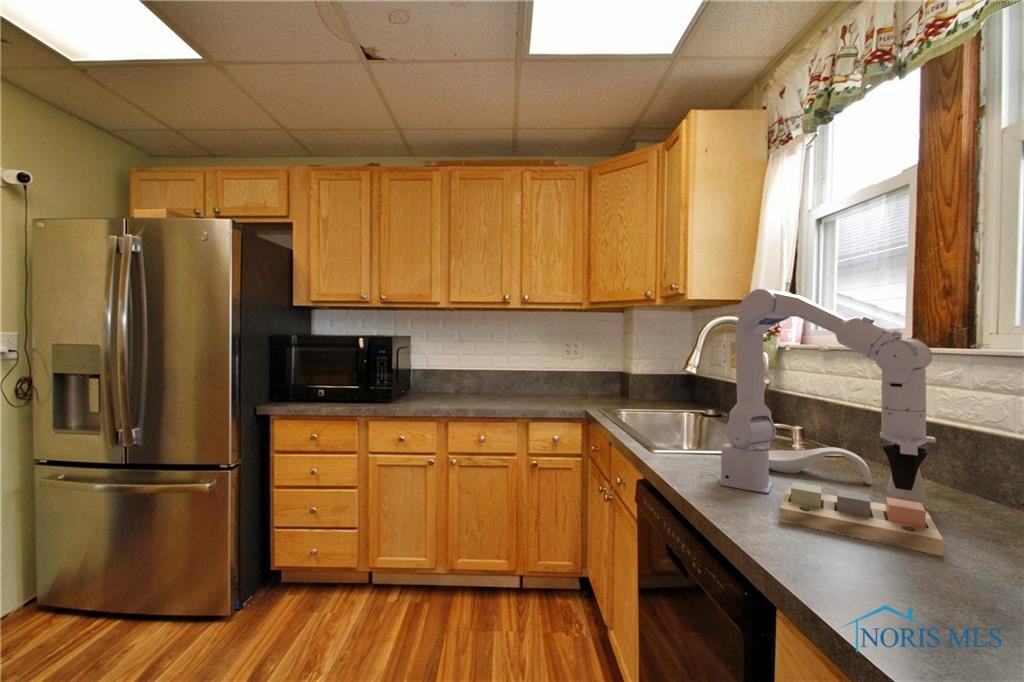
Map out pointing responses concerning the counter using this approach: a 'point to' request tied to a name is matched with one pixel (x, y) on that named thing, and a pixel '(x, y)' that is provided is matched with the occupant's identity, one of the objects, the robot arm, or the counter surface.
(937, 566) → the counter surface
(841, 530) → the tan wooden slotted tray
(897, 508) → the key terracotta
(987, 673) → the counter surface
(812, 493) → the key sage
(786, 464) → the light grey curved piece
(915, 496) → the salt shaker
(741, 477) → the robot arm
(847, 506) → the key slate
